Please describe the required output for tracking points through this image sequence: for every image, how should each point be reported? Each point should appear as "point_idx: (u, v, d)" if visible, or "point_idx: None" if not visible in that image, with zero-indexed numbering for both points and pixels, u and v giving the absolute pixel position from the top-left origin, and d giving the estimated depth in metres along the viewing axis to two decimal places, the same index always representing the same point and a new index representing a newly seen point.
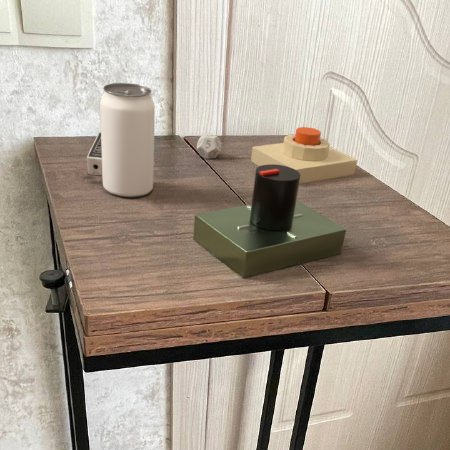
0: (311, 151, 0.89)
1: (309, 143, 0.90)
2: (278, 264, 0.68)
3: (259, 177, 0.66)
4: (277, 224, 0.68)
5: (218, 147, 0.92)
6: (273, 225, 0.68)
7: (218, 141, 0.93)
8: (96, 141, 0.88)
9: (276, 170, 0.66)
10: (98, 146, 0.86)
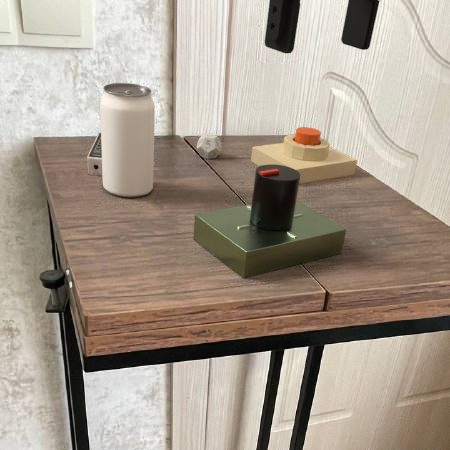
0: (311, 151, 0.89)
1: (309, 143, 0.90)
2: (278, 264, 0.68)
3: (259, 177, 0.66)
4: (277, 224, 0.68)
5: (218, 147, 0.92)
6: (273, 225, 0.68)
7: (218, 141, 0.93)
8: (96, 141, 0.88)
9: (276, 170, 0.66)
10: (98, 146, 0.86)
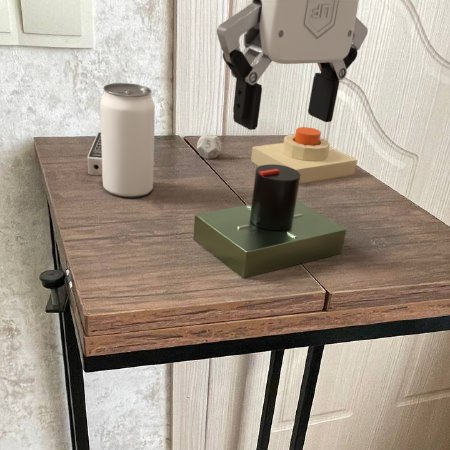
0: (311, 151, 0.89)
1: (309, 143, 0.90)
2: (278, 264, 0.68)
3: (259, 177, 0.66)
4: (277, 224, 0.68)
5: (218, 147, 0.92)
6: (273, 225, 0.68)
7: (218, 141, 0.93)
8: (95, 141, 0.88)
9: (276, 170, 0.66)
10: (98, 146, 0.86)
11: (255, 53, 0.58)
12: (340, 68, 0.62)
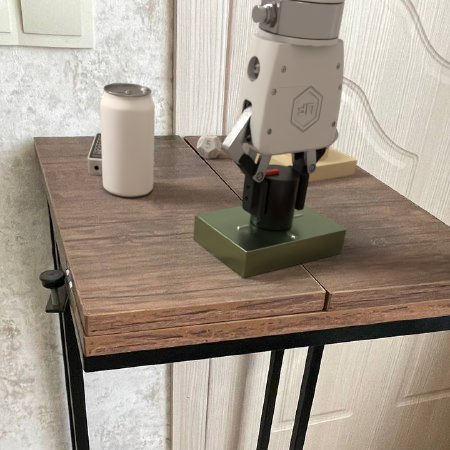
0: None
1: None
2: (278, 264, 0.68)
3: None
4: (277, 224, 0.68)
5: (218, 147, 0.92)
6: (273, 225, 0.68)
7: (218, 141, 0.93)
8: (95, 142, 0.88)
9: (276, 170, 0.66)
10: (97, 147, 0.86)
11: (256, 151, 0.64)
12: (311, 163, 0.67)
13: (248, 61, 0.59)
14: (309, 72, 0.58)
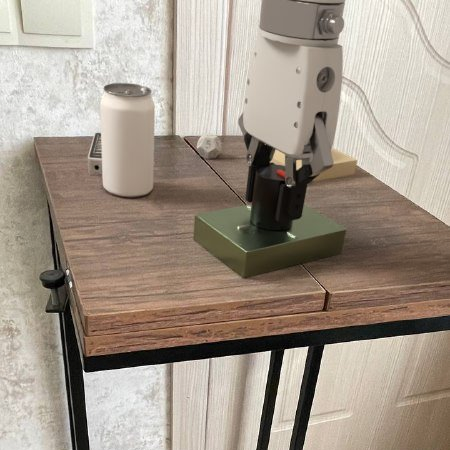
0: None
1: None
2: (278, 264, 0.68)
3: None
4: None
5: (218, 147, 0.92)
6: None
7: (218, 141, 0.93)
8: (94, 142, 0.88)
9: (281, 170, 0.66)
10: (97, 147, 0.86)
11: (298, 159, 0.63)
12: None
13: (315, 75, 0.57)
14: None
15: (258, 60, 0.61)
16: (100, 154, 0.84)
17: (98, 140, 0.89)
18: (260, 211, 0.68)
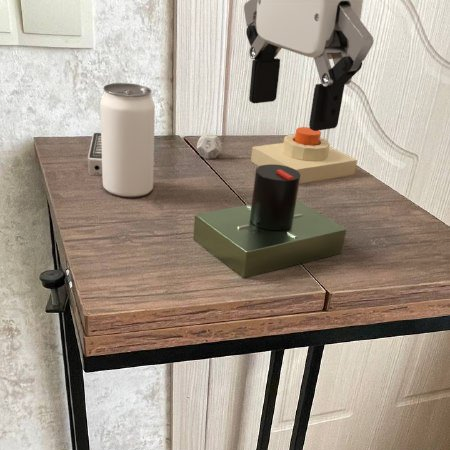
0: (311, 151, 0.89)
1: (309, 143, 0.90)
2: (278, 264, 0.68)
3: (290, 183, 0.65)
4: None
5: (218, 147, 0.92)
6: None
7: (218, 141, 0.93)
8: (93, 142, 0.88)
9: (281, 170, 0.66)
10: (96, 147, 0.86)
11: (329, 55, 0.57)
12: None
13: None
14: None
15: None
16: (100, 154, 0.84)
17: (97, 140, 0.89)
18: (259, 211, 0.68)
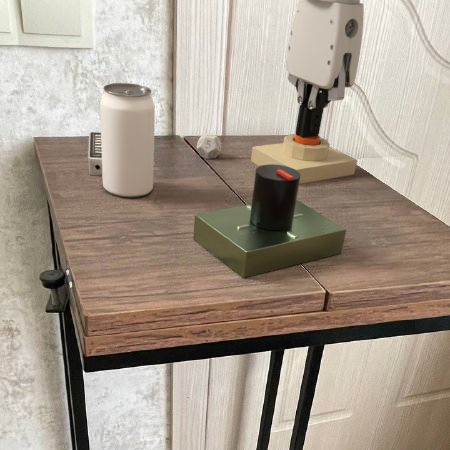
0: (311, 151, 0.89)
1: None
2: (278, 264, 0.68)
3: (290, 183, 0.65)
4: None
5: (218, 147, 0.92)
6: None
7: (218, 141, 0.93)
8: (91, 141, 0.88)
9: (281, 170, 0.66)
10: (95, 146, 0.86)
11: None
12: None
13: (344, 24, 0.78)
14: None
15: (300, 16, 0.82)
16: (100, 154, 0.84)
17: (95, 140, 0.88)
18: (259, 211, 0.68)
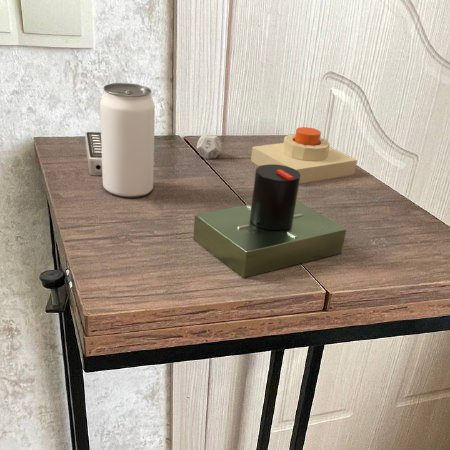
0: (311, 151, 0.89)
1: (309, 143, 0.90)
2: (278, 264, 0.68)
3: (290, 183, 0.65)
4: None
5: (218, 147, 0.92)
6: None
7: (218, 141, 0.93)
8: (88, 141, 0.87)
9: (281, 170, 0.66)
10: (93, 146, 0.86)
11: None
12: None
13: None
14: None
15: None
16: (100, 153, 0.84)
17: (92, 139, 0.88)
18: (259, 211, 0.68)
